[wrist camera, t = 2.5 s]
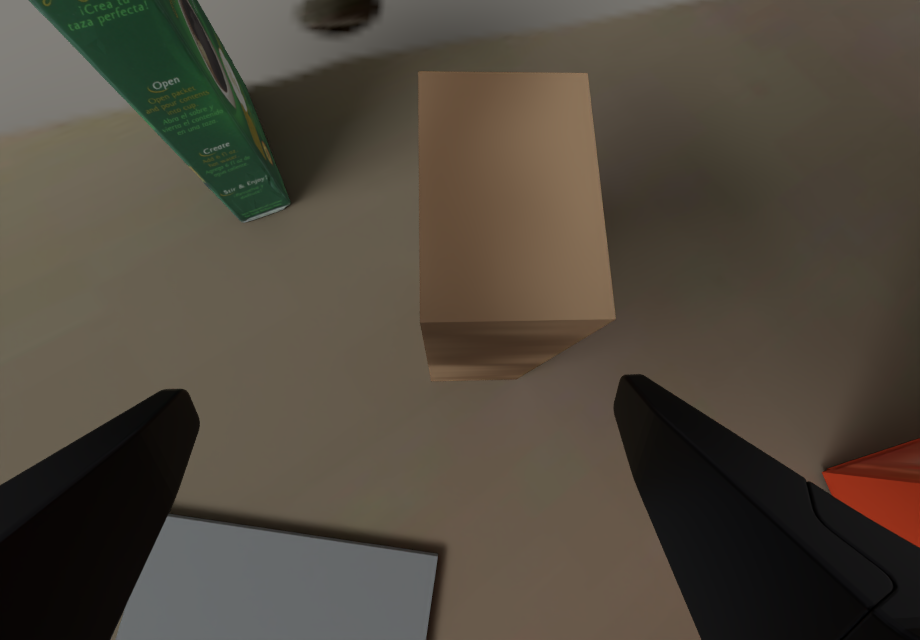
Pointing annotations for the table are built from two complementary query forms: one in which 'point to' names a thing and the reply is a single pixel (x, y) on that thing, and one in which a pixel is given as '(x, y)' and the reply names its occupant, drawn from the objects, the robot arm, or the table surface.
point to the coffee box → (179, 91)
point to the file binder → (883, 488)
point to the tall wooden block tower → (508, 222)
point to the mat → (276, 587)
